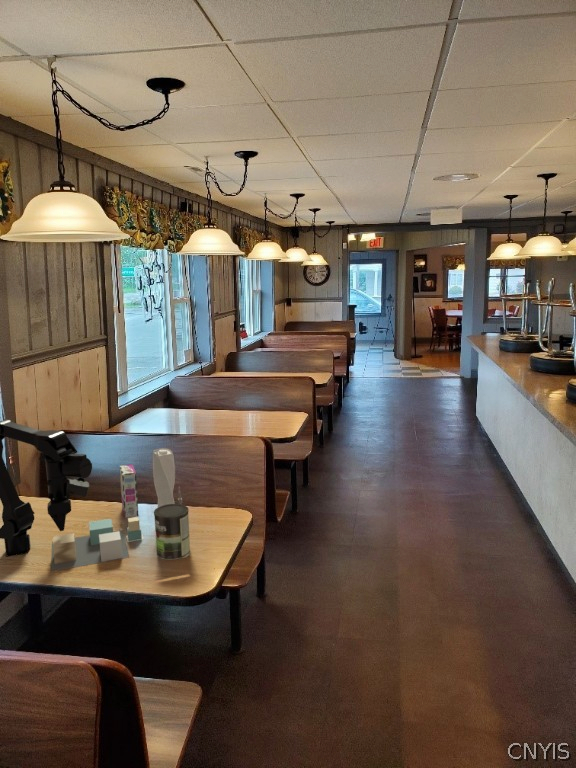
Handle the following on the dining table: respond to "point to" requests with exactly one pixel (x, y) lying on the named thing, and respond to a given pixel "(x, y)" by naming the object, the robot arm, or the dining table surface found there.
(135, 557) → the dining table surface
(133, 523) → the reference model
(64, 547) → the oak cube
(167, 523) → the coffee can
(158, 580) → the dining table surface
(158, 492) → the skyscraper
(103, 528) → the teal block
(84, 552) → the charcoal mat
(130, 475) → the candy bar box
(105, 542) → the grey cube
